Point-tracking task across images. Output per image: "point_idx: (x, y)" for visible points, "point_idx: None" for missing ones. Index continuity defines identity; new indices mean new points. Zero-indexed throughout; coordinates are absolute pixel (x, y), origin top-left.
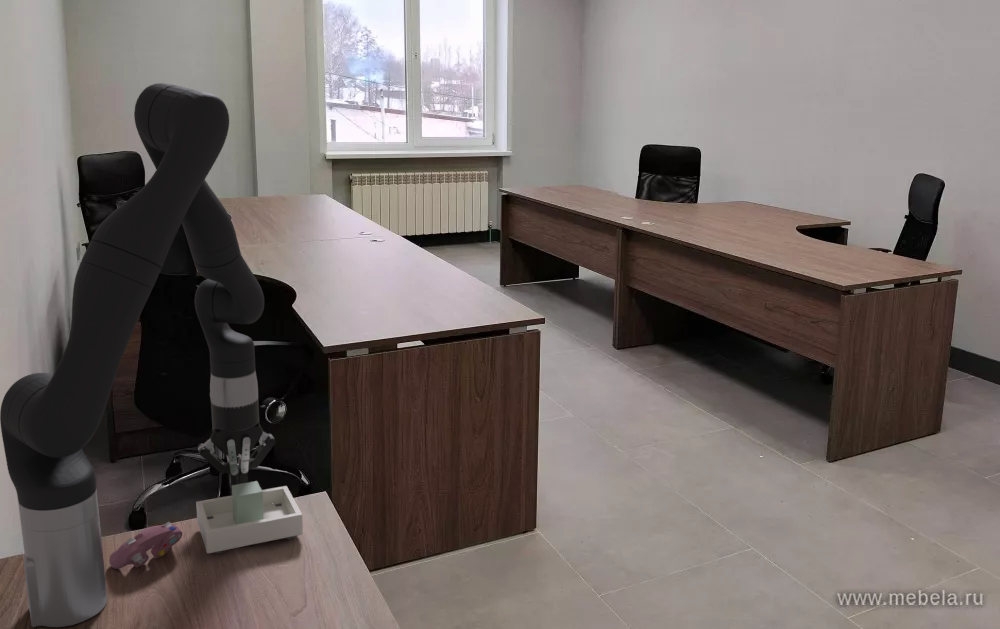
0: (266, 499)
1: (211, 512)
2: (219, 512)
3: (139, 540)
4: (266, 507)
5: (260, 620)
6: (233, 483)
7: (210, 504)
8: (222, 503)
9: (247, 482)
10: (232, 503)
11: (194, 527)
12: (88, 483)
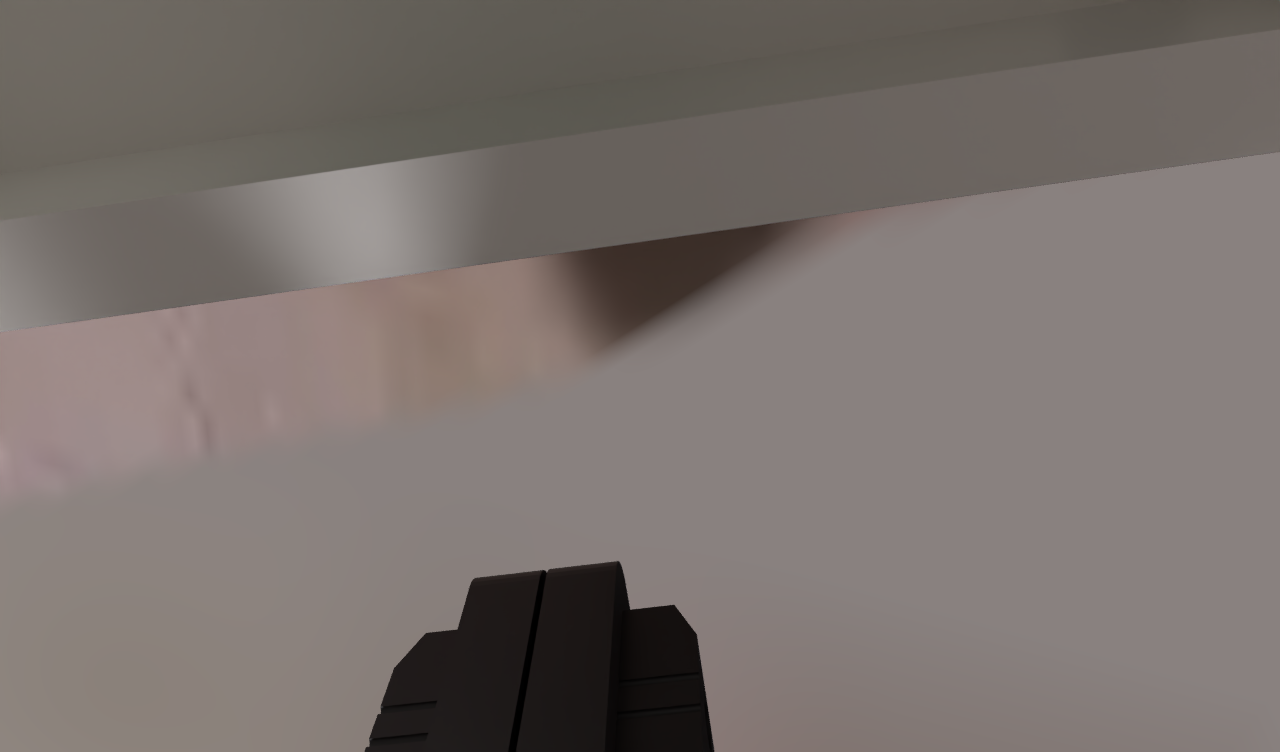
0: (36, 182)
1: (1101, 13)
2: (940, 31)
3: None
4: (87, 63)
5: None
6: (650, 706)
7: (1191, 32)
8: (912, 71)
9: (387, 714)
10: (695, 97)
11: None
12: None
